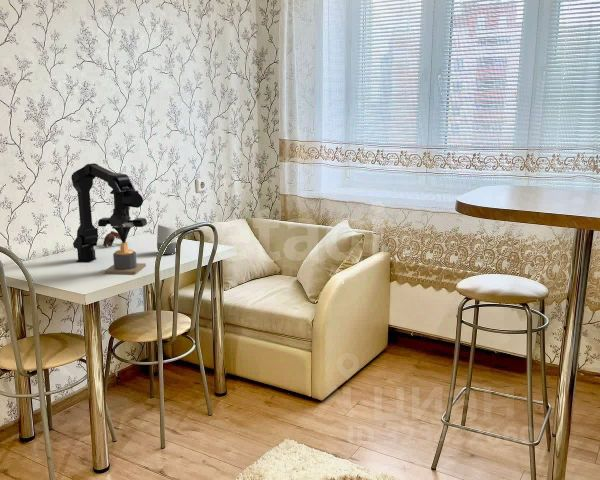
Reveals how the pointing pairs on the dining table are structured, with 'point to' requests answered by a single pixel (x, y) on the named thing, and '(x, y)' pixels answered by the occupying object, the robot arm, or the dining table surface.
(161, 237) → the smart speaker
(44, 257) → the dining table surface
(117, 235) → the brown curved piece
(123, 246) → the orange cap
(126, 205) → the robot arm
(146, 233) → the dining table surface
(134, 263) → the tube on square plate
